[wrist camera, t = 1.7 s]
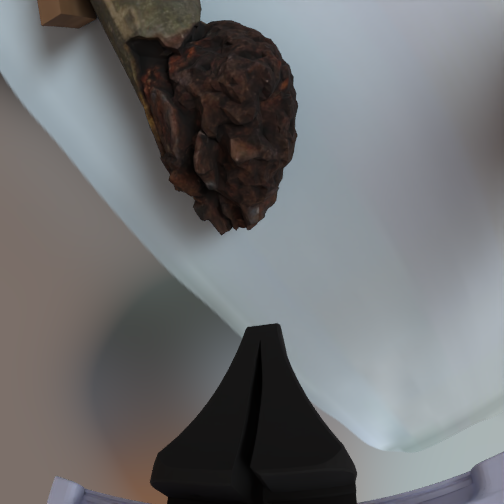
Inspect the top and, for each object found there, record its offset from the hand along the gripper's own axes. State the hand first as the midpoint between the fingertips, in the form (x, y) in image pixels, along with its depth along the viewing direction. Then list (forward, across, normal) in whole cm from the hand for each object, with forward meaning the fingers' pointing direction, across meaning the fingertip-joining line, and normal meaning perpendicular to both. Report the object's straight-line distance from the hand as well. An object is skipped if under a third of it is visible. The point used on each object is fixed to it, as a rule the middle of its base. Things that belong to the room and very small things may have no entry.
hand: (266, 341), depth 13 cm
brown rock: (+8, +1, -12) cm, 14 cm away
